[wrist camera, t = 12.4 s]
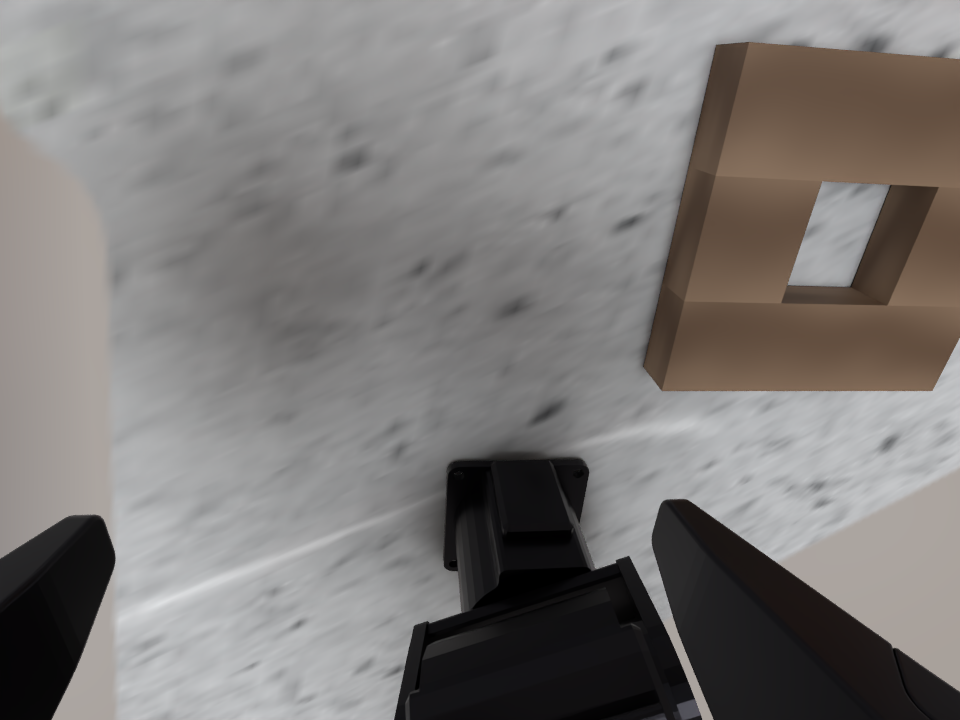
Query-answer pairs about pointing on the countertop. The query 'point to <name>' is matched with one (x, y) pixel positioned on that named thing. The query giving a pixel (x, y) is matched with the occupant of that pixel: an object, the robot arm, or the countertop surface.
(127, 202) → the countertop surface
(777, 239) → the plate
